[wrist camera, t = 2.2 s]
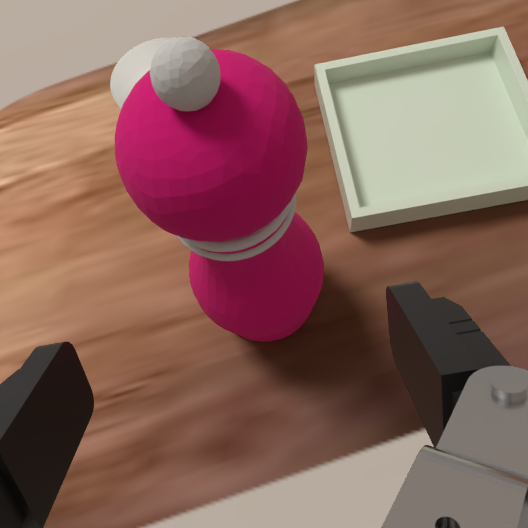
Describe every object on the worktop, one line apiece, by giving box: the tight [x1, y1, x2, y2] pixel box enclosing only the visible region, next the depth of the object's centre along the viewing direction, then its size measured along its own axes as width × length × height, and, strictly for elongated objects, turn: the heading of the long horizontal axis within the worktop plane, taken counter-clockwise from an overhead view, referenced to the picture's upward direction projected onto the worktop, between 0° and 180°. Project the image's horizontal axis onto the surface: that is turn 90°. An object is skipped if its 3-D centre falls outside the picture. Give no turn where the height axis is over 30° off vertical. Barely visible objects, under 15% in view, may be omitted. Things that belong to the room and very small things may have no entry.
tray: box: [315, 27, 528, 232], centre depth 32 cm, size 13×12×2 cm
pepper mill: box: [115, 37, 324, 342], centre depth 21 cm, size 7×7×20 cm
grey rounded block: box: [110, 38, 173, 109], centre depth 32 cm, size 6×6×6 cm
